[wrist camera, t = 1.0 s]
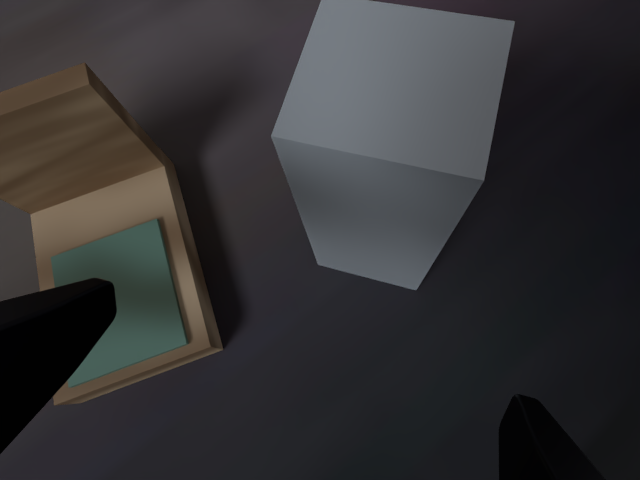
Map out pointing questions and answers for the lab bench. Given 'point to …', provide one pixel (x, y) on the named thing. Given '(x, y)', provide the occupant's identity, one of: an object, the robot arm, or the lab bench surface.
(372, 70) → the grey tapered block
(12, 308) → the robot arm
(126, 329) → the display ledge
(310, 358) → the lab bench surface
